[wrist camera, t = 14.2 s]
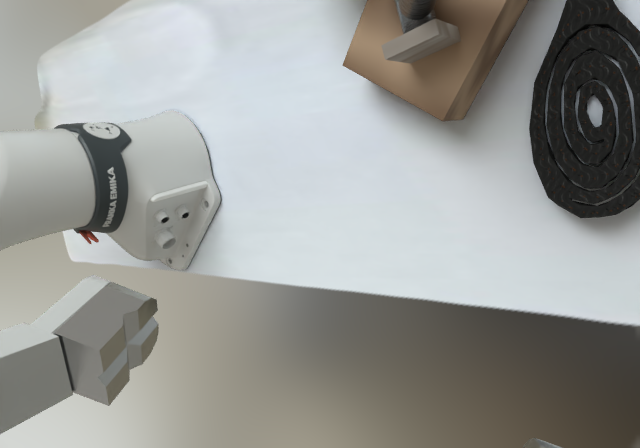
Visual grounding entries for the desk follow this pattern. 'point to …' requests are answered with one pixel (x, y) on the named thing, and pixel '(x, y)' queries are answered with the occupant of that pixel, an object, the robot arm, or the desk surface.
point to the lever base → (433, 51)
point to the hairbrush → (579, 13)
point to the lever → (415, 13)
